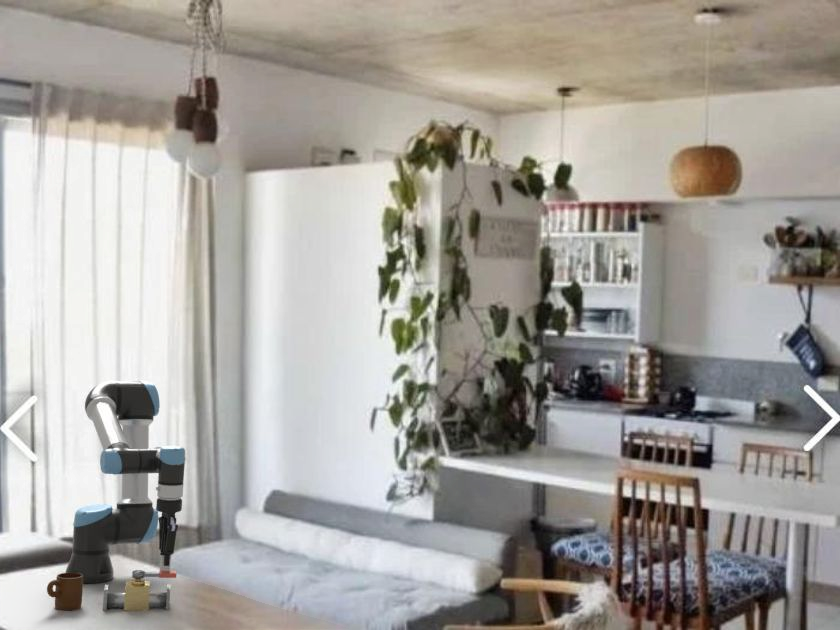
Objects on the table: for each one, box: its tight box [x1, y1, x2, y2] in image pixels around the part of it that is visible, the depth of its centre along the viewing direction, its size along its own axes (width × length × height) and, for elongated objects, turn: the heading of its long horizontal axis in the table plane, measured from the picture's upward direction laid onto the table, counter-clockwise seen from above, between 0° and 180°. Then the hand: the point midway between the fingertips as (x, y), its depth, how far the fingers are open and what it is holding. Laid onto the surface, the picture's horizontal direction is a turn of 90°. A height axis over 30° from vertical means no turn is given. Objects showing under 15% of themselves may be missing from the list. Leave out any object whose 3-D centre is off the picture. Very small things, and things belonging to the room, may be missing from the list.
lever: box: [131, 569, 177, 579], centre depth 312 cm, size 13×4×2 cm, turn 103°
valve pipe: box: [102, 578, 172, 612], centre depth 311 cm, size 9×20×9 cm, turn 104°
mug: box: [46, 572, 84, 611], centre depth 305 cm, size 12×8×9 cm, turn 152°
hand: (164, 575), depth 314 cm, fingers closed
